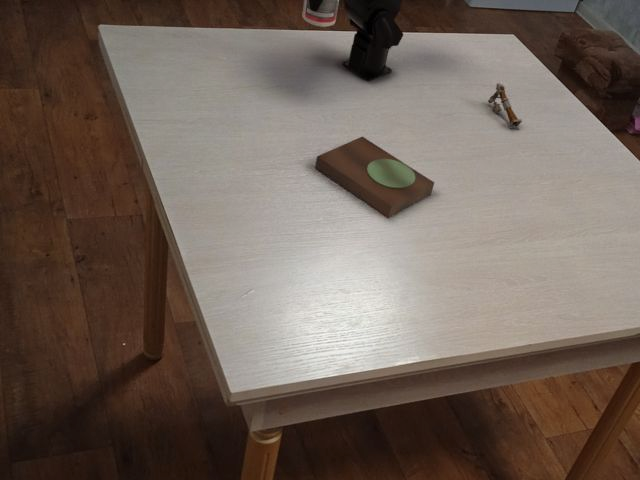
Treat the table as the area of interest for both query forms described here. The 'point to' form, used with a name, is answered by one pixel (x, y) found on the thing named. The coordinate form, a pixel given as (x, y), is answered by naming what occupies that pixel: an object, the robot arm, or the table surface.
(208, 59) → the table surface
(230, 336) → the table surface
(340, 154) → the wooden coaster tray
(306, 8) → the pill bottle
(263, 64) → the table surface
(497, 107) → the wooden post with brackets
